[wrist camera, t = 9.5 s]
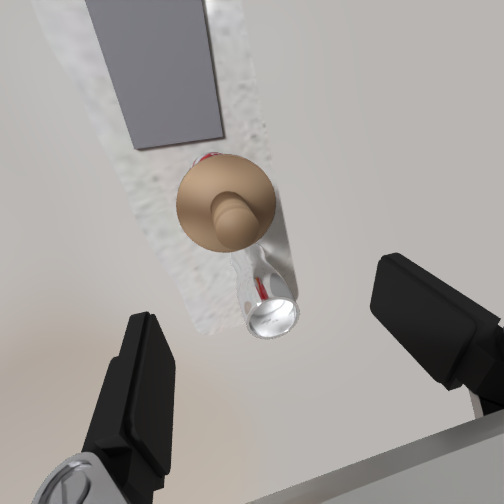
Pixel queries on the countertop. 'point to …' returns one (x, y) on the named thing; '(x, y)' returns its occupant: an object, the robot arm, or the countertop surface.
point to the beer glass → (263, 294)
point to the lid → (225, 203)
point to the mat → (159, 68)
